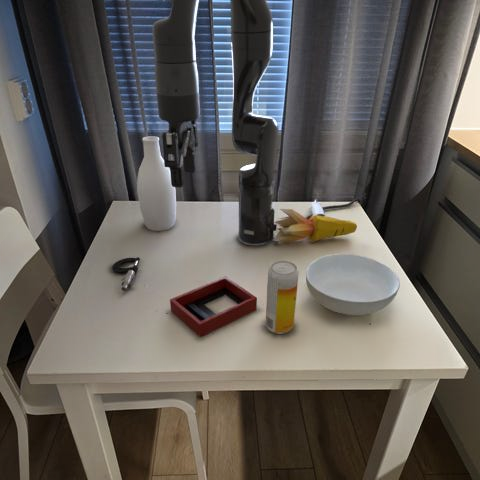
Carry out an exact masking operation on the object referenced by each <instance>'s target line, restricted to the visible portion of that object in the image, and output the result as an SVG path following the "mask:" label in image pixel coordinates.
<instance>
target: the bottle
mask: <svg viewBox="0 0 480 480" xmlns="http://www.w3.org/2000/svg"><path fill="white" fill-rule="evenodd" d="M141 141H142V143H143V159H142V161H141V164H140V166H139V168H138V173H137V179H136V194H137V198H138V203H139V209H140V213H141V216H142V219H143V222H144V226H145V227H146V228H147V230H150V231H153V232H156V231H157V232H162V231H168V230H170V229H172V228H173V227H174V226H175V224H176V218H177V217H176V216H177V191H176V187H173V186H172V185H171V174H170V168H169V167H165V165H164V157H162V154H161V148H160V142H159V141H160V137H159V136H155V135H149V136H144V137H142V139H141Z"/></svg>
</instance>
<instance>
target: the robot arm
mask: <svg viewBox="0 0 480 480" xmlns="http://www.w3.org/2000/svg"><path fill="white" fill-rule="evenodd" d="M157 1H159V2H164V1H166V2H172V4H171V9H170V12H169V15H168V17H165V18H161V19H159V20H157V21H155V22H154V23H153V25H152V29H151V30H152V32H151V33H152V34H151V35H152V45H153V55H154V81H155V92H156V101H157V110H158V111H157V112H158V117H159V118H160V120H162V121H166V122H167V123H168V130H167V132H162V134H161V140H162V152H163V160H164V165H165V167H169V169H170V174H171V185H172V186H173V187H175V188H179V189H180V188H182V187H183V186H184V173H183V170H184V172H185V173H190V174H191V173H195V171H196V155H195V153H196V152H197V148H198V146H199V139H198V138H199V137H198V124H197V120H198V119H199V117H200V115H201V114H200V113H201V110H200V91H199V90H200V89H199V73H198V67H197V59H196V38H195V34H196V26H197V20H198V12H199V7H200V1H201V0H157ZM229 3H230V41H231V44H230V45H231V57H232V59H231V60H232V90H233V91H232V112H231V114H232V117H231V140H232V145H233V148H234V149H235V151H237V152H239V153H242V154H246V155H251V156H255V157H256V160H255V163H252V164H247V165H244V166H243V167H241V168H240V169H239V171H238V231H237V232H238V237H237V239H238V242H240V243H241V244H242V245H246V246H248V247H249V246H250V247H262V246H266V245H267V244H269V243H271V242H273V241H274V232H276V231H277V230H278V229H277V228H278V225H275V224H274V221H275V212H276V211H275V208H273V197H274V196H273V195H274V177H275V171H276V167H277V157H278V146H279V136H280V131H279V130H280V129H279V124H278V122H277V120H276V119H275V118H273V117H269V116H263V115H258V114H254V113H253V112H254V111H253V106H254V105H253V102H254V95H255V92H256V89H257V86H258V85H259V83H260V81H261V79H262V77H263V75H264V74H265V72H266V70H267V68H268V67H269V64H270V62H271V59H272V56H273V49H274V19H273V15H272V12H271V9H270V7H269V4H268V2H267V0H230V1H229ZM356 202H357V203H361V202H362V199H360V198H358V197H357V198H354V199H352V200H351V201H349V202H348V203H345V204H337V205H327V206H322V208H323V211H325V210H330V209H341V208H347V207H350V206H352V205H353V204H355V203H356ZM311 216H313V215H312V213H311V214H309V215H308V216H305V218H306V219H308V220H309V219H310V217H311Z"/></svg>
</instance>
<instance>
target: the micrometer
mask: <svg viewBox="0 0 480 480" xmlns="http://www.w3.org/2000/svg"><path fill="white" fill-rule="evenodd" d="M140 260H141V258H140V257H139V256H137V257H126V258H122V259H119V260H117V261H116V262H114V264H113V265H112V267H111V269H112V271H113V273H115V274H119V275H120V274H122V275H123V274H125V275H124V278H123V280H122V281H121V291H122V292H127V290H128V289H131V287H132V283H133V281H134V279H135V276H136V275H137V272H138V270H139V267H138V264H139V263H140ZM125 264H130V265H128V266H129V267H121V266H123V265H125Z"/></svg>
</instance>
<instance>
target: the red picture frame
mask: <svg viewBox="0 0 480 480" xmlns="http://www.w3.org/2000/svg"><path fill="white" fill-rule="evenodd" d="M224 296H226V297H227V298H229V299H230V300H232V301H233V302H235V303H236V304H235V305H233V306H231V307H229V308H226V309H225V310H222V311H220V312H218V313H216V312H214V310H212V309H211V308H209V307H208V306H207V305H206V304H208V303H211V302H213V301H215V300H217V299H220V298H223V297H224ZM169 304H170V305H169V306H170V313H171V314H173V315H174V316H175V317H176V318H177V319H179V320H180V322H182V323H183V324H184V325H185V326H187V327H188V328H189V330H191V331H193V332H194V334H196V335H197V336H198V338H202V337H205V336H206V335H207V336H208V335H209V334H210V333H213V332H214V331H217V330H219V329H221V328H223V327H225V326H227V325H230V324H231V323H233V322H235V321H237V320H239V319H242V318H243V317H245V316H247V315H250V314H252V313H254V312H256V311H257V309H258V297H257V296H256V295H254V294H252V293H251V292H249V291H248V290H246V289H245V288H244V287H242V286H240V285H239V284H238V283H236V282H235V281H233V280H232V279H231V278H229V277H227V276H223V277H220V278H218V279H215V280H213V281H211V282H208V283H206V284H203V285H200V286H198V287H196V288H193V289H192V290H189V291H187V292H183V293H182V294H179V295H177V296H174V297H173V298H169Z"/></svg>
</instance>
